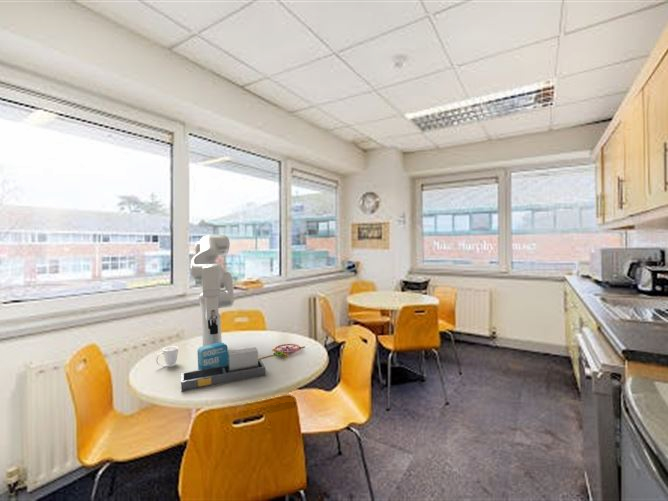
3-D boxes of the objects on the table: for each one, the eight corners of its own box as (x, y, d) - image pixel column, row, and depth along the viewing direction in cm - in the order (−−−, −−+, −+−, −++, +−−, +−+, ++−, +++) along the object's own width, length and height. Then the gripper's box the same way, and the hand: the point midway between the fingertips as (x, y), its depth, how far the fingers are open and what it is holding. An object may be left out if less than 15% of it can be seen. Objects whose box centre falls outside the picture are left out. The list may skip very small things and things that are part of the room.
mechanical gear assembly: (312, 351, 178) (296, 345, 189) (312, 343, 178) (296, 337, 189) (261, 366, 158) (246, 358, 170) (260, 357, 158) (246, 350, 170)
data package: (201, 377, 147) (200, 350, 146) (198, 374, 150) (197, 347, 149) (228, 369, 154) (227, 343, 154) (224, 366, 158) (223, 341, 157)
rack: (181, 381, 142) (180, 356, 142) (260, 367, 156) (260, 344, 155) (181, 392, 133) (180, 365, 132) (265, 376, 146) (265, 351, 146)
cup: (181, 364, 161) (181, 348, 161) (159, 371, 154) (158, 353, 153) (175, 361, 166) (174, 344, 166) (153, 367, 159) (153, 350, 158)
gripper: (201, 291, 157) (202, 327, 158) (203, 297, 141) (205, 337, 142) (218, 289, 160) (219, 325, 161) (222, 295, 144) (224, 335, 145)
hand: (213, 331), depth 151 cm, fingers open, 9 cm apart
